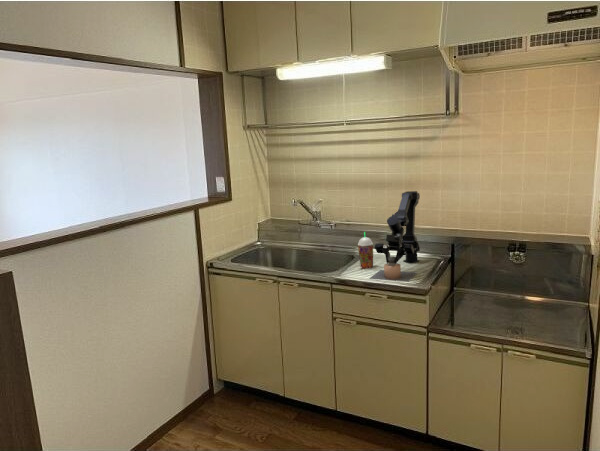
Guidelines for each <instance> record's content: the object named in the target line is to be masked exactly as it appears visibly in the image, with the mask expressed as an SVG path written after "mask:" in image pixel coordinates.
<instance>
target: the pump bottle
mask: <svg viewBox="0 0 600 451" xmlns="http://www.w3.org/2000/svg"><path fill="white" fill-rule="evenodd" d="M383 270H384V276H385V278H386V279H399V278H401V271H402V267H401V263H398V262H397V263H396V264H395V263H388V264H387V263H386V264H384V265H383Z"/></svg>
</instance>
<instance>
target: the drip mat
mask: <svg viewBox="0 0 600 451" xmlns="http://www.w3.org/2000/svg"><path fill="white" fill-rule="evenodd" d="M418 273H419V272H417V271H402V270H401V278H399V279H386V278H385V276H384V269H380V270H379V271H378V270H377V272H375V274H373V275H371V276H370V277H369V278H368V279H369V280H380V281H381V280H382V281H395V282H396V281H397V282H411V280H412V279H413V278H414V277H415V276H416V275H417V274H418Z"/></svg>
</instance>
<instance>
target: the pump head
mask: <svg viewBox="0 0 600 451" xmlns="http://www.w3.org/2000/svg"><path fill="white" fill-rule="evenodd" d="M395 258H396V256H390V257H388V264H389V263H394V262H395Z"/></svg>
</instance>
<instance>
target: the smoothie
mask: <svg viewBox="0 0 600 451" xmlns="http://www.w3.org/2000/svg"><path fill="white" fill-rule="evenodd" d="M357 249H358V256H359V257H358V258H359V264H360V266H359V267H361V269H362V268H363V269H362V270H364V269H371V268H373V266H374V242H373V241H372V239H371V238H370V237H367V236H366V231H364V232H363V237H361V238H360V239H359V240H358V243H357Z"/></svg>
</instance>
